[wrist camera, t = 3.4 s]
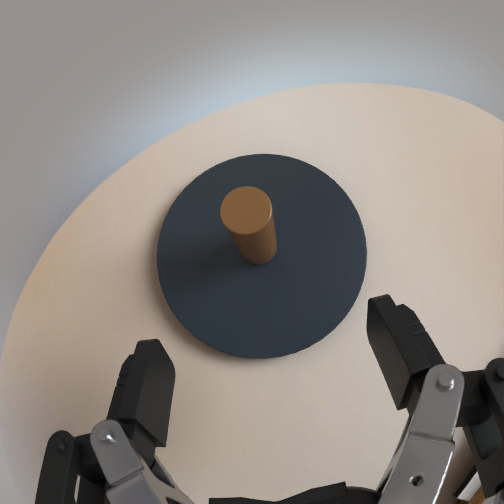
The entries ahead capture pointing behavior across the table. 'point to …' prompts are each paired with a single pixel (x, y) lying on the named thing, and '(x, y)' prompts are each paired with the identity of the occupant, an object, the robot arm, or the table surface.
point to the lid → (261, 256)
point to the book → (470, 489)
